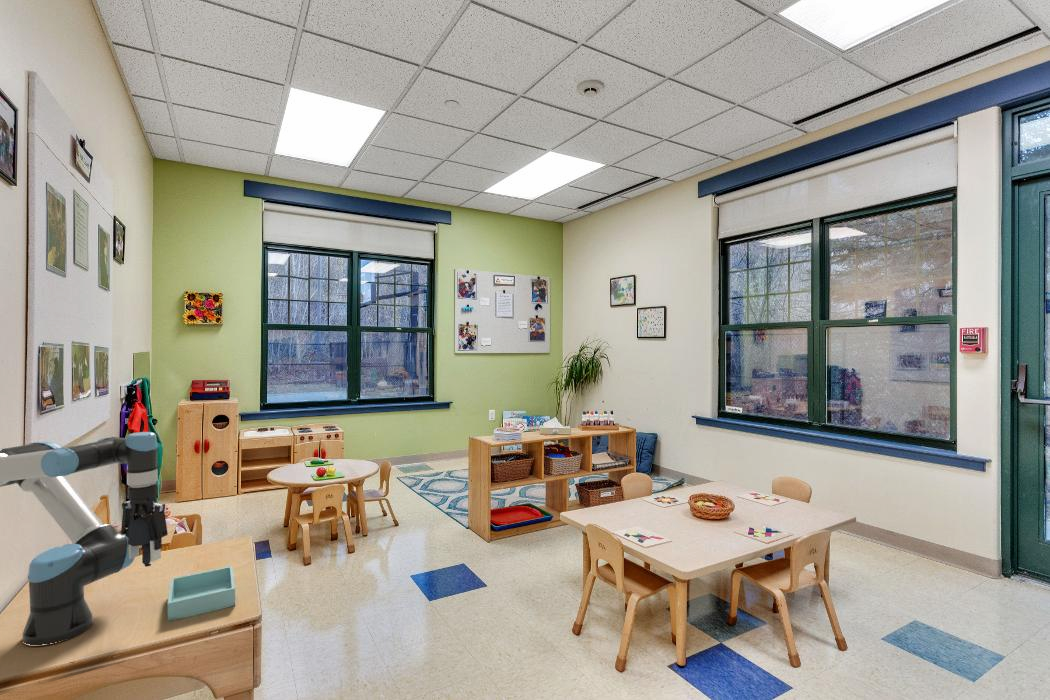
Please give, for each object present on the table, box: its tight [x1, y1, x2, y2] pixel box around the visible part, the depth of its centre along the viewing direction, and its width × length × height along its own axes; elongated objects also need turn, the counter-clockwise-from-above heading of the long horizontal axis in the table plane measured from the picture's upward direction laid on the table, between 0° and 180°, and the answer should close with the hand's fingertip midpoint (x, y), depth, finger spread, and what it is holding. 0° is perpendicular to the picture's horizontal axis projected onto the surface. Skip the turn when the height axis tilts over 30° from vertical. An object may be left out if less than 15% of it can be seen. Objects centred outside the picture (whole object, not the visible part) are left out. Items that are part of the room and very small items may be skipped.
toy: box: [128, 516, 157, 568], centre depth 159 cm, size 9×8×15 cm
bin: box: [167, 565, 236, 622], centre depth 169 cm, size 18×19×6 cm
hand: (144, 558), depth 159 cm, fingers closed on toy, 7 cm apart
